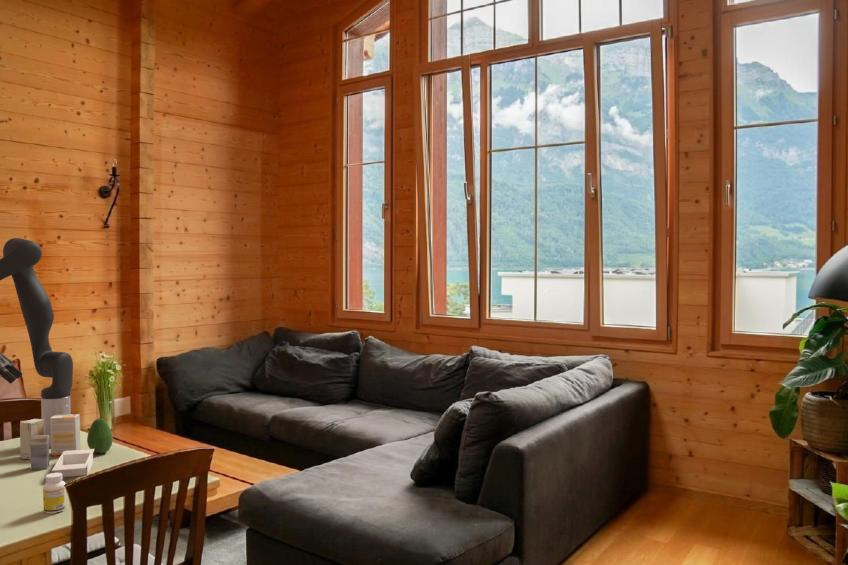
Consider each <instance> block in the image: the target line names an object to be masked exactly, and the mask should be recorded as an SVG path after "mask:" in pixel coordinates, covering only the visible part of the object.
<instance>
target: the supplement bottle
mask: <svg viewBox="0 0 848 565" xmlns="http://www.w3.org/2000/svg"><path fill="white" fill-rule="evenodd" d="M63 478H64V477H63V476H62V473H54V472H51V473H48V474H46V475H45V483H44V484H43V486H42V497H43V512H46V513H56V512H60V511H63V510H64V509H65V510H66V509H67V488H66V489H65V487H64V485H65V484H66V482H65V481H64V480H63ZM65 510H64V511H65ZM64 511H63V512H64ZM46 513H45V514H46ZM60 513H61V512H60ZM56 514H57V513H56Z"/></svg>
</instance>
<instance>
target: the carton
mask: <svg viewBox="0 0 848 565" xmlns="http://www.w3.org/2000/svg"><path fill="white" fill-rule="evenodd" d="M94 453H95V452H94V449H90V448H88V449H87V448H86V449H81V450H71V451H63V453H62V455H59V456H60V457H59V458H58V460H57V461H56V463H55V465H53V468H52V469H51V472H53V473H62V476H63V478H66V477H80V476H88V474H89V472H90V470H91V468H92V465H93V463H94ZM85 474H86V475H85Z"/></svg>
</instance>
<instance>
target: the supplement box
mask: <svg viewBox="0 0 848 565" xmlns="http://www.w3.org/2000/svg"><path fill="white" fill-rule="evenodd" d="M80 418H81V416H80V413H78V414H69V415H54V416H53V417H51V418H50V428H51V447H50V454H51V456H61V455H62V453H63V451H71V450H82V449H81V421H80V420H81V419H80Z"/></svg>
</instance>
